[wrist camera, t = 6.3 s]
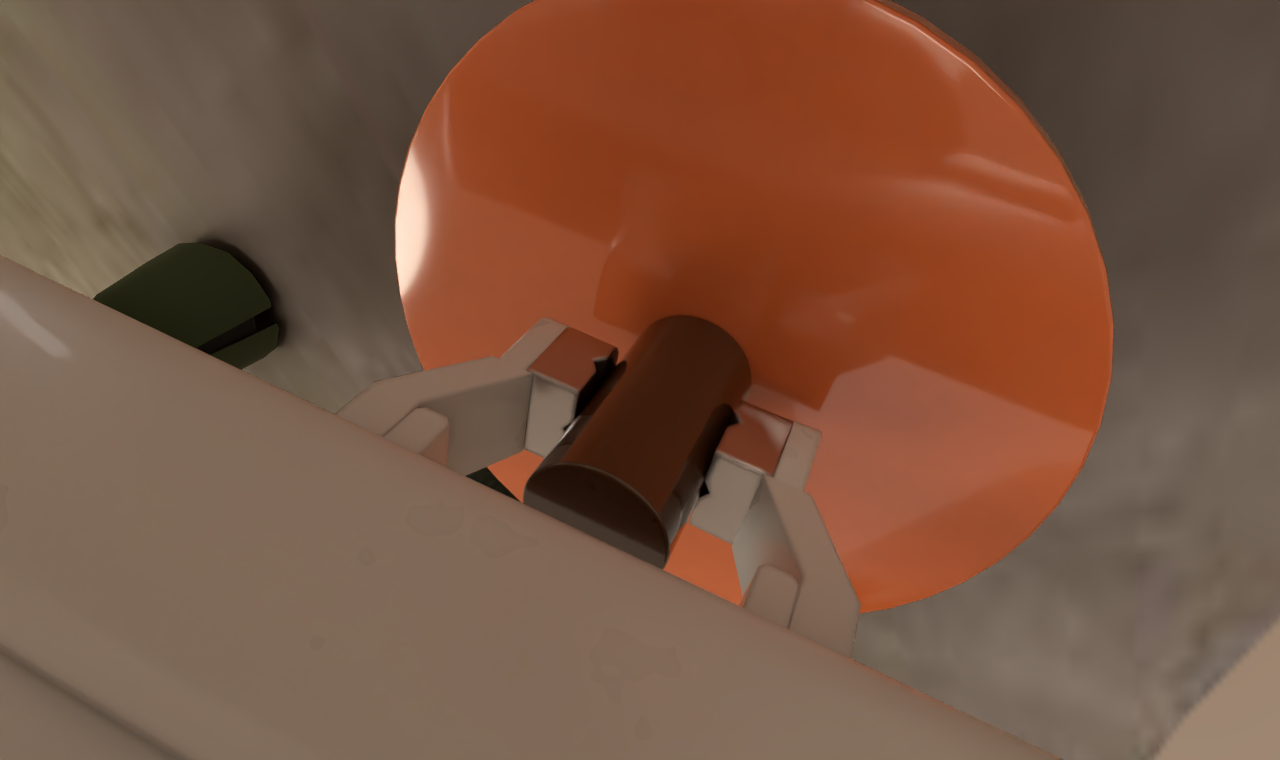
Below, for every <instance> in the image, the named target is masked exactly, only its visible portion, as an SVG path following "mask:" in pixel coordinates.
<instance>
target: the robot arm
mask: <svg viewBox="0 0 1280 760" xmlns="http://www.w3.org/2000/svg"><path fill="white" fill-rule="evenodd" d="M618 355H619V351H618V348H617V347H615V346H613V345H610V344H608V343H606V342H604V341H601V340H599V339H597V338H595V337H592V336H590V335H588V334H586V333H583V332H581V331H579V330H577V329H574V328H572V327H569V326H567V325H565V324H562V323H560V322H558V321H555V320H553V319H551V318H548V317H545V318H542V319H540V320H539V321H538V322H537V323H536V324H535V325H534V326H533V327H532V328H531V329H530V330H528V331H527V332H526V333H525V334H524V335H523V336H522V337H521V338H520V339H519V340H518V341H517V342H516V343H515V344H514V345H513V346H512V347H511V348H510V349H509V350H508V351H507V352H506V353H505V354H504V355H503V356H502V357H501V358H496V357H494V356H490V357H485V358H481V359H476V360H471V361H467V362H462V363H457V364H453V365H448V366H444V367H439V368H434V369H430V370H425V371H420V372H416V373H411V374H407V375H402V376H397V377H393V378H388V379H383V380H379V381H375V382H374V383H372V384H371V385H370V386H369V387H367V388H366V389H365V390H364V391H362V392H361V393H360V394H359V395H358V396H356V397H355V398H354V399H353V400H351V401H350V402H349V403H348V404H346V405H345V406H344V407H343V408H341V409H340V410H339V411H338V412H337V413H335V414H333V413H331V412H329V411H327V410H325V409H322V408H320V407H318V406H316V405H314V404H312V403H310V402H308V401H306V400H303V399H301V398H299V397H297V396H295V395H293V394H291V393H289V392H287V391H284V390H282V389H280V388H278V387H276V386H274V385H272V384H270V383H268V382H265V381H263V380H261V379H259V378H257V377H255V376H253V375H251V374H249V373H247V372H244V371H242V370H240V369H238V368H236V367H234V366H232V365H230V364H228V363H225V362H223V361H221V360H219V359H217V358H215V357H213V356H211V355H209V354H207V353H204V352H202V351H200V350H198V349H196V348H194V347H192V346H190V345H188V344H185V343H183V342H181V341H179V340H177V339H175V338H173V337H171V336H169V335H166V334H164V333H162V332H160V331H158V330H156V329H154V328H152V327H150V326H148V325H145V324H143V323H141V322H139V321H137V320H135V319H133V318H131V317H129V316H126V315H124V314H122V313H120V312H118V311H116V310H114V309H112V308H110V307H108V306H105V305H103V304H101V303H99V302H97V301H95V300H93V299H91V298H89V297H86V296H84V295H82V294H80V293H78V292H76V291H74V290H72V289H70V288H68V287H65V286H63V285H61V284H59V283H57V282H55V281H53V280H51V279H49V278H46V277H44V276H42V275H40V274H38V273H36V272H34V271H32V270H30V269H28V268H26V267H24V266H22V265H20V264H18V263H16V262H14V261H12V260H10V259H8V258H5V257H3V256H0V760H1063V759H1061V758H1059V757H1057V756H1055V755H1053V754H1051V753H1049V752H1047V751H1044V750H1042V749H1040V748H1038V747H1036V746H1034V745H1032V744H1030V743H1028V742H1025V741H1023V740H1021V739H1019V738H1017V737H1015V736H1013V735H1011V734H1009V733H1006V732H1004V731H1002V730H1000V729H998V728H996V727H994V726H992V725H990V724H987V723H985V722H983V721H981V720H979V719H977V718H975V717H973V716H971V715H968V714H966V713H964V712H962V711H960V710H958V709H956V708H954V707H952V706H949V705H947V704H945V703H943V702H941V701H939V700H937V699H935V698H933V697H930V696H928V695H926V694H924V693H922V692H920V691H918V690H916V689H914V688H911V687H909V686H907V685H905V684H903V683H901V682H899V681H897V680H895V679H892V678H890V677H888V676H886V675H884V674H882V673H880V672H878V671H876V670H873V669H871V668H869V667H867V666H865V665H863V664H861V663H859V662H857V661H855V660H852V659H851V654H852V649H853V644H854V638H855V633H856V628H857V623H858V618H859V613H860V607H861V604H860V602H859V599H858V597H857V595H856V593H855V590H854V588H853V586H852V584H851V581H850V579H849V577H848V575H847V573H846V570H845V568H844V566H843V564H842V561H841V559H840V557H839V555H838V552H837V550H836V548H835V546H834V544H833V541H832V539H831V537H830V535H829V532H828V530H827V528H826V526H825V523H824V521H823V519H822V517H821V514H820V512H819V510H818V508H817V506H816V503H815V501H814V499H813V497H812V495H811V494H809V493H807V492H804V490H805V486H806V483H807V480H808V477H809V474H810V471H811V467H812V464H813V461H814V458H815V455H816V452H817V449H818V445H819V442H820V439H821V436H822V433H821V431H820V430H817V429H815V428H812V427H810V426H807V425H804V424H802V423H799V422H797V421H794V422H793V421H792V420H789V419H787V418H785V417H782V416H780V415H777V414H775V413H772V412H770V411H768V410H765V409H763V408H760V407H758V406H755V405H753V404H751V403H748V402H746V401H743V400H741V401H740V402H739V404H738V406H737V408H736V410H735V412H734V415H733V418H732V420H731V423H730V425H729V426H728V427H727V428H726V430H725V433H724V435H723V437H722V439H721V441H720V443H719V445H718V447H717V449H716V451H715V454H714V456H713V459H712V461H711V464H710V467H709V469H708V472H707V475H706V477H705V482H706V484H705V486H704V488H703V490H702V493H701V495H700V497H699V499H698V501H697V503H696V505H695V507H694V510H693V513H692V515H691V518H690V521H689V524H691V525H693V526H695V527H697V528H699V529H701V530H703V531H705V532H707V533H709V534H711V535H713V536H715V537H717V538H719V539H721V540H723V541H725V542H727V543H730V544H732V551H733V556H734V560H735V565H736V569H737V574H738V578H739V582H740V587H741V591H742V596H743V598H742V600H741V602H740V604H739V606H738V605H736V604H734V603H732V602H730V601H728V600H725V599H723V598H721V597H719V596H717V595H715V594H713V593H711V592H709V591H707V590H704V589H702V588H700V587H698V586H696V585H694V584H692V583H690V582H688V581H685V580H683V579H681V578H679V577H677V576H675V575H673V574H671V573H669V572H667V571H664V570H662V569H660V568H658V567H656V566H654V565H652V564H650V563H648V562H646V561H643V560H641V559H639V558H637V557H635V556H633V555H631V554H629V553H627V552H625V551H622V550H620V549H618V548H616V547H614V546H612V545H610V544H608V543H605V542H603V541H601V540H599V539H597V538H595V537H593V536H591V535H589V534H586V533H584V532H582V531H580V530H578V529H576V528H574V527H572V526H570V525H567V524H565V523H563V522H561V521H559V520H557V519H555V518H553V517H550V516H548V515H546V514H544V513H542V512H540V511H538V510H536V509H534V508H531V507H529V506H527V505H525V504H523V503H521V502H519V501H517V500H514V499H512V498H510V497H508V496H506V495H504V494H502V493H500V492H498V491H495V490H493V489H491V488H489V487H487V486H485V485H483V484H481V483H478V482H476V481H474V480H472V479H470V478H468V477H466V475H468V474H471V473H473V472H476V471H478V470H480V469H483V468H485V467H487V466H490V465H492V464H494V463H497V462H499V461H501V460H504V459H506V458H508V457H511V456H513V455H515V454H518V453H520V452H522V451H523V449H524V450H527V451H529V452H531V453H534V454H536V455H538V456H541V457H543V458H545V456H546V455H547V454H548V453H549V451H550V450H551V449H552V447H553V446H554V445H555V444H556V442H557V441H558V440H559V438H560V437H561V436H562V435H563V433H564V432H565V431H566V429H567V428H568V427H569V426H570V424H571V423H572V422H573V420H574V419H575V418H576V417H577V415H578V414H579V413H580V411H581V410H582V409H583V408H584V406H585V405H586V404H587V402H588V401H589V400H590V399H591V397H592V396H593V395H594V393H595V392H596V391H597V390H598V388H599V387H600V386H601V384H602V383H603V382H604V381H605V379H606V378H607V377H608V375H609V374H610V373H611V372H612V370H613V369H614V368H615V366H616V365H617V360H618Z"/></svg>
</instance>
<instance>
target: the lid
mask: <svg viewBox="0 0 1280 760" xmlns="http://www.w3.org/2000/svg"><path fill="white" fill-rule="evenodd" d="M395 263H396V270H397V278H398V286H399V294H400V298H401V302H402V306H403V310H404V314H405V318H406V322H407V326H408V330H409V332H410V335H411V338H412V341H413V343H414V346H415V349H416V352H417V355H418V357H419V360H420V363H421V365H422V367H423V369H424V371H425V370H430V369H434V368H439V367H444V366H448V365H453V364H457V363H462V362H467V361H471V360H476V359H481V358H485V357H490V356H494V357H496V358H501V357H502V356H503V355H504V354H505V353H506V352H507V351H508V350H509V349H510V348H511V347H512V346H513V345H514V344H515V343H516V342H517V341H518V340H519V339H520V338H521V337H522V336H523V335H524V334H525V333H526V332H527V331H528V330H530V329H531V328H532V327H533V326H534V325H535V324H536V323H537V322H538V321H539V320H540V319H542V318H545V317H548V318H551V319H553V320H555V321H558V322H560V323H562V324H565V325H567V326H569V327H572V328H574V329H577V330H579V331H581V332H583V333H586V334H588V335H590V336H592V337H595V338H597V339H599V340H601V341H604V342H606V343H608V344H610V345H613V346H615V347H617V348H618V351H619V355H618V360H617V365H616V366H615V368H614V369H613V370H612V372H611V373H610V374H609V375H608V377H607V378H606V379H605V381H604V382H603V383H602V384H601V386H600V387H599V388H598V390H597V391H596V392H595V393H594V395H593V396H592V397H591V399H590V400H589V401H588V402H587V404H586V405H585V406H584V408H583V409H582V410H581V411H580V413H579V414H578V415H577V417H576V418H575V419H574V420H573V422H572V423H571V424H570V426H569V427H568V428H567V429H566V431H565V432H564V433H563V435H562V436H561V437H560V438H559V440H558V441H557V442H556V444H555V445H554V446H553V447H552V449H551V450H550V451H549V453H548V454H547V455H546V456H545V458H543V457H541V456H538V455H536V454H534V453H531V452H529V451H527V450H524V449H523V451H522V452H520V453H518V454H515V455H513V456H511V457H508V458H506V459H504V460H501V461H499V462H497V463H494V464H492V465H490V466H487V468H488V469H489V470H490V471H491V472H492V474H493V475H494V476H495V477H496V478H497V479H498V480H499V481H500V482H501V483H502V484H503V485H504V486H505V487H506V488H507V489H508V490H509V491H510V492H511V493H512V494H513V495H514V496H515V497H516V498H517V499H518V500H519V501H520V502H521V503H523V504H525V505H527V506H529V507H531V508H534V509H536V510H538V511H540V512H542V513H544V514H546V515H548V516H550V517H553V518H555V519H557V520H559V521H561V522H563V523H565V524H567V525H570V526H572V527H574V528H576V529H578V530H580V531H582V532H584V533H586V534H589V535H591V536H593V537H595V538H597V539H599V540H601V541H603V542H605V543H608V544H610V545H612V546H614V547H616V548H618V549H620V550H622V551H625V552H627V553H629V554H631V555H633V556H635V557H637V558H639V559H641V560H643V561H646V562H648V563H650V564H652V565H654V566H656V567H658V568H660V569H662V570H664V571H667V572H669V573H671V574H673V575H675V576H677V577H679V578H681V579H683V580H685V581H688V582H690V583H692V584H694V585H696V586H698V587H700V588H702V589H704V590H707V591H709V592H711V593H713V594H715V595H717V596H719V597H721V598H723V599H725V600H728V601H730V602H732V603H734V604H736V605H738V606H739V604H740V602H741V600H742V598H743V596H742V591H741V587H740V582H739V578H738V574H737V569H736V565H735V560H734V556H733V551H732V544H730V543H727V542H725V541H723V540H721V539H719V538H717V537H715V536H713V535H711V534H709V533H707V532H705V531H703V530H701V529H699V528H697V527H695V526H693V525H691V524H689V521H690V518H691V515H692V513H693V510H694V507H695V505H696V503H697V501H698V499H699V497H700V495H701V493H702V490H703V488H704V486H705V484H706V482H705V477H706V475H707V472H708V469H709V467H710V464H711V461H712V459H713V456H714V454H715V451H716V449H717V447H718V445H719V443H720V441H721V439H722V437H723V435H724V433H725V430H726V428H727V427H728V426H729V425H730V423H731V420H732V418H733V415H734V412H735V410H736V408H737V406H738V404H739V402H740V401H741V400H743V401H746V402H748V403H751V404H753V405H755V406H758V407H760V408H763V409H765V410H768V411H770V412H772V413H775V414H777V415H780V416H782V417H785V418H787V419H789V420H792V421H793V422H794V421H797V422H799V423H802V424H804V425H807V426H810V427H812V428H815V429H817V430H820V431H821V433H822V436H821V439H820V442H819V445H818V449H817V452H816V455H815V458H814V461H813V464H812V467H811V471H810V474H809V477H808V480H807V483H806V486H805V490H804V492H807V493H809V494H811V495H812V497H813V499H814V501H815V503H816V506H817V508H818V510H819V512H820V514H821V517H822V519H823V521H824V523H825V526H826V528H827V530H828V532H829V535H830V537H831V539H832V541H833V544H834V546H835V548H836V550H837V552H838V555H839V557H840V559H841V561H842V564H843V566H844V568H845V570H846V573H847V575H848V577H849V579H850V581H851V584H852V586H853V588H854V590H855V593H856V595H857V597H858V599H859V602H860V604H861V607H860V613H866V612H872V611H878V610H884V609H890V608H893V607H897V606H900V605H904V604H907V603H911V602H914V601H918V600H921V599H925V598H928V597H930V596H933V595H935V594H937V593H940V592H942V591H944V590H947V589H949V588H951V587H954V586H956V585H959V584H961V583H963V582H965V581H967V580H968V579H970V578H972V577H973V576H975V575H977V574H978V573H980V572H982V571H984V570H985V569H987V568H989V567H990V566H992V565H994V564H995V563H997V562H999V561H1000V560H1001V559H1002V558H1003V557H1005V556H1006V555H1007V554H1008V553H1010V552H1011V551H1012V550H1013V549H1015V548H1016V547H1017V546H1018V545H1020V544H1021V543H1022V542H1023V541H1025V540H1026V539H1027V538H1028V537H1030V536H1031V534H1032V533H1033V532H1034V531H1035V530H1036V529H1037V528H1038V527H1039V526H1040V525H1041V523H1042V522H1043V521H1044V520H1045V519H1046V518H1047V517H1048V516H1049V515H1050V514H1051V512H1052V511H1053V510H1054V509H1055V508H1056V507H1057V506H1058V505H1059V503H1060V502H1061V500H1062V499H1063V497H1064V496H1065V494H1066V493H1067V491H1068V489H1069V488H1070V486H1071V485H1072V483H1073V482H1074V480H1075V479H1076V477H1077V475H1078V474H1079V472H1080V471H1081V469H1082V468H1083V466H1084V464H1085V461H1086V459H1087V457H1088V454H1089V452H1090V450H1091V447H1092V445H1093V442H1094V440H1095V438H1096V435H1097V433H1098V431H1099V428H1100V426H1101V423H1102V419H1103V414H1104V410H1105V406H1106V401H1107V397H1108V392H1109V388H1110V383H1111V379H1112V366H1113V342H1114V319H1113V312H1112V305H1111V298H1110V290H1109V283H1108V276H1107V269H1106V265H1105V261H1104V258H1103V254H1102V251H1101V248H1100V245H1099V242H1098V239H1097V236H1096V233H1095V229H1094V226H1093V223H1092V220H1091V217H1090V214H1089V211H1088V208H1087V205H1086V202H1085V200H1084V198H1083V196H1082V194H1081V192H1080V190H1079V188H1078V187H1077V185H1076V183H1075V181H1074V179H1073V177H1072V175H1071V173H1070V171H1069V169H1068V167H1067V165H1066V163H1065V162H1064V160H1063V158H1062V156H1061V154H1060V152H1059V150H1058V148H1057V147H1056V146H1055V144H1054V143H1053V142H1052V140H1051V139H1050V138H1049V136H1048V135H1047V134H1046V132H1045V131H1044V130H1043V128H1042V127H1041V126H1040V124H1039V123H1038V122H1037V120H1036V119H1035V118H1034V116H1033V115H1032V114H1031V112H1030V111H1029V110H1028V108H1027V107H1026V106H1025V104H1024V103H1023V102H1022V100H1021V99H1020V98H1019V97H1018V96H1017V95H1016V94H1015V93H1014V92H1013V91H1012V90H1011V89H1010V88H1009V87H1008V86H1007V85H1006V84H1005V83H1004V82H1003V81H1002V80H1001V79H1000V78H999V77H997V76H996V75H995V74H994V73H993V72H992V71H991V70H990V69H989V68H988V67H987V66H986V65H985V64H984V63H983V62H982V61H981V60H980V59H979V58H978V57H977V56H976V55H975V54H974V53H972V52H971V51H970V50H968V49H967V48H965V47H964V46H962V45H961V44H960V43H958V42H957V41H955V40H954V39H953V38H951V37H950V36H948V35H947V34H946V33H944V32H943V31H941V30H940V29H939V28H937V27H936V26H934V25H933V24H931V23H930V22H929V21H927V20H926V19H924V18H923V17H922V16H920V15H918V14H916V13H914V12H912V11H910V10H908V9H906V8H904V7H902V6H900V5H898V4H896V3H894V2H892V1H890V0H534V1H532V2H530V3H528V4H526V5H525V6H523V7H521V8H519V9H517V10H516V11H515V12H513V13H512V14H511V15H509V16H508V17H507V18H505V19H504V20H503V21H502V22H500V23H499V24H498V25H496V26H495V27H494V28H493V29H491V30H490V31H489V32H487V33H486V34H485V35H484V36H482V37H481V38H480V39H479V40H478V41H477V42H476V43H475V44H474V45H473V46H472V48H471V49H470V50H469V51H468V52H467V53H466V54H465V55H464V56H463V57H462V58H461V60H460V61H459V62H458V63H457V64H456V65H455V66H454V67H453V68H452V69H451V70H450V72H449V73H448V75H447V76H446V78H445V79H444V81H443V83H442V84H441V86H440V87H439V89H438V90H437V92H436V93H435V95H434V96H433V98H432V99H431V101H430V102H429V104H428V106H427V107H426V109H425V112H424V114H423V116H422V118H421V121H420V123H419V125H418V127H417V130H416V132H415V134H414V136H413V139H412V141H411V143H410V146H409V149H408V153H407V157H406V160H405V164H404V168H403V171H402V175H401V178H400V182H399V190H398V197H397V205H396V213H395ZM860 613H859V614H860Z"/></svg>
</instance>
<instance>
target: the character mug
mask: <svg viewBox="0 0 1280 760" xmlns="http://www.w3.org/2000/svg"><path fill="white" fill-rule="evenodd" d="M93 300H95V301H97V302H99V303H101V304H103V305H105V306H108V307H110V308H112V309H114V310H116V311H118V312H120V313H122V314H124V315H126V316H129V317H131V318H133V319H135V320H137V321H139V322H141V323H143V324H145V325H148V326H150V327H152V328H154V329H156V330H158V331H160V332H162V333H164V334H166V335H169V336H171V337H173V338H175V339H177V340H179V341H181V342H183V343H185V344H188V345H190V346H192V347H194V348H196V349H198V350H200V351H202V352H204V353H207V354H209V355H211V356H213V357H215V358H217V359H219V360H221V361H223V362H225V363H228V364H230V365H232V366H234V367H236V368H238V369H240V370H241V369H243V368H245V367H247V366H249V365H251V364H253V363H255V362H257V361H258V360H260V359H262V358H264V357H265V356H267V355H268V354H269V353H270V352H271V351H273V350H274V349H275V348H276V347H277V340H278V334H279V328H278V325H277V323H276V324H274V325H272V326H270V327H268V328H266V329H264V330H262V331H260V332H258V333H256V326H255V318H254V316H256V315H257V314H259V313H261V312H263V311H264V310H266V309H268V308H270V307H271V303H270V300H269V298H268V297H267V295H266V294H265V292H264V291H263V289H262V288H261V286H260V285H259V283H258V282H257V280H256V279H255V278H254V276H253V275H252V273H250V272H249V271H248V270H247V269H246V268H245V267H244V266H242V265H241V264H240V263H239V262H238V261H237V260H236V259H235V258H233V257H232V256H231V255H230V254H229V253H228V252H225V251H222V250H219V249H216V248H213V247H210V246H207V245H204V244H201V243H182V244H178V245H176V246H174V247H172V248H171V249H169V250H167V251H166V252H164V253H162V254H160V255H159V256H157V257H155V258H153V259H152V260H150V261H148V262H147V263H145V264H143V265H142V266H140V267H139V268H137V269H136V270H134V271H133V272H131V273H130V274H128V275H127V276H125V277H124V278H122V279H120V280H119V281H117V282H116V283H114V284H113V285H111V286H110V287H108V288H106V289H105V290H103V291H102V292H100V293H99V294H97V295H96V296H95V298H94V299H93Z"/></svg>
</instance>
